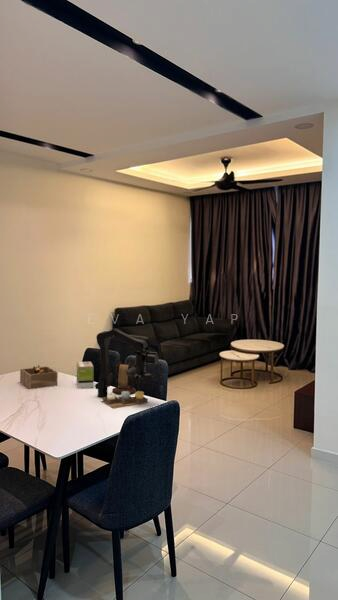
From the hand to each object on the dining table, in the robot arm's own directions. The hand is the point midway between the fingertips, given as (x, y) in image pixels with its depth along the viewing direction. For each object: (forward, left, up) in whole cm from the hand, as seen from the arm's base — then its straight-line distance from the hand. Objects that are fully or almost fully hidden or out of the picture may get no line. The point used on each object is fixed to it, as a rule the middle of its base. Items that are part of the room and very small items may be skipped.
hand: (139, 389), depth 240 cm
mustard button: (0, 0, -6) cm, 6 cm away
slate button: (-4, -7, -6) cm, 10 cm away
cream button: (-8, -14, -7) cm, 18 cm away
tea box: (-53, -10, -9) cm, 55 cm away
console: (-4, -7, -9) cm, 12 cm away
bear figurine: (-71, -33, -9) cm, 79 cm away
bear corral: (-71, -35, -9) cm, 80 cm away
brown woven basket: (-23, +3, -9) cm, 25 cm away
